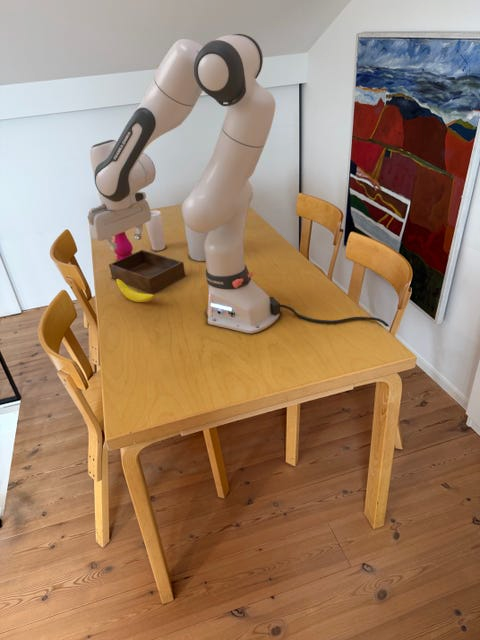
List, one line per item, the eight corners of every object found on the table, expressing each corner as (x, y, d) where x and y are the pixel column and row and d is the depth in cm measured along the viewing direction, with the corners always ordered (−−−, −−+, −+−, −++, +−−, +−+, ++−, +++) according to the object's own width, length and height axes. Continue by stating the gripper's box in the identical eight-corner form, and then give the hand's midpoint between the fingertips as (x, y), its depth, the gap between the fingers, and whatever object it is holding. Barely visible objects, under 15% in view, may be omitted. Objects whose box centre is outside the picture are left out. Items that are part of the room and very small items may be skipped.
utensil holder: (229, 246, 183) (225, 203, 173) (223, 261, 170) (219, 216, 161) (193, 247, 185) (187, 205, 176) (185, 262, 172) (178, 218, 163)
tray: (185, 276, 162) (183, 261, 159) (152, 293, 153) (149, 279, 150) (144, 262, 175) (142, 249, 172) (112, 278, 166) (108, 264, 163)
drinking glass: (163, 252, 183) (157, 215, 175) (148, 252, 184) (140, 216, 176) (169, 245, 188) (163, 210, 181) (154, 245, 190) (147, 210, 182)
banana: (152, 311, 143) (148, 293, 139) (116, 295, 154) (111, 278, 150) (159, 307, 144) (156, 289, 141) (123, 292, 155) (119, 275, 152)
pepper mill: (125, 264, 176) (114, 213, 165) (112, 261, 179) (100, 211, 169) (138, 257, 181) (128, 207, 170) (125, 254, 184) (114, 205, 174)
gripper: (92, 211, 124) (105, 258, 131) (149, 191, 137) (158, 235, 144) (79, 209, 128) (92, 254, 135) (136, 189, 141) (145, 232, 148)
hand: (126, 244), depth 140 cm, fingers open, 8 cm apart
